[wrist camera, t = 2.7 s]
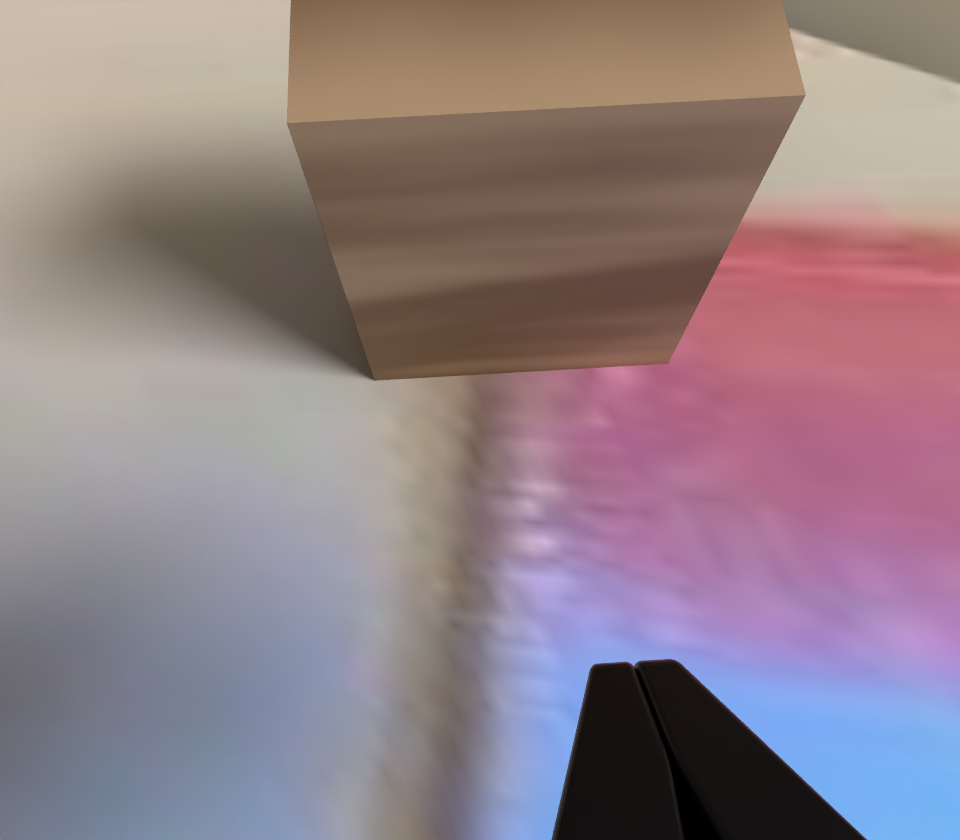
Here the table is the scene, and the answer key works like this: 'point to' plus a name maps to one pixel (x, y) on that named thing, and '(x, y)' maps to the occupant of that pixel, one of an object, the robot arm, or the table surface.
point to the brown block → (533, 169)
